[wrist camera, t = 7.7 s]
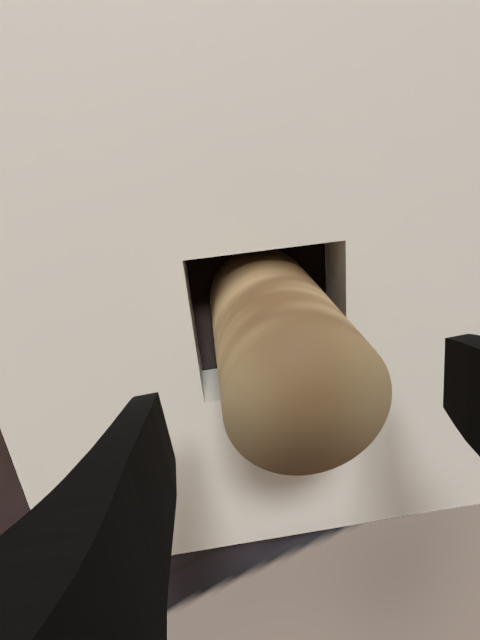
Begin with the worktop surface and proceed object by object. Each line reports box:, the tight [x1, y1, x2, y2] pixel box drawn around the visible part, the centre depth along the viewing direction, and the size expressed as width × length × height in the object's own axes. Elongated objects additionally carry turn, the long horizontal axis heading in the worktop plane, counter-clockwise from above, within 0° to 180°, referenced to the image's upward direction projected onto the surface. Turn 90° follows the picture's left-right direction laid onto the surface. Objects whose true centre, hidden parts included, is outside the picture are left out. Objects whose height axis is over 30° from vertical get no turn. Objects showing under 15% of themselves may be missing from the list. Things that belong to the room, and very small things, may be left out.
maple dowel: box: [210, 249, 392, 476], centre depth 14 cm, size 4×4×8 cm
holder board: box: [0, 0, 480, 555], centre depth 17 cm, size 20×20×2 cm
